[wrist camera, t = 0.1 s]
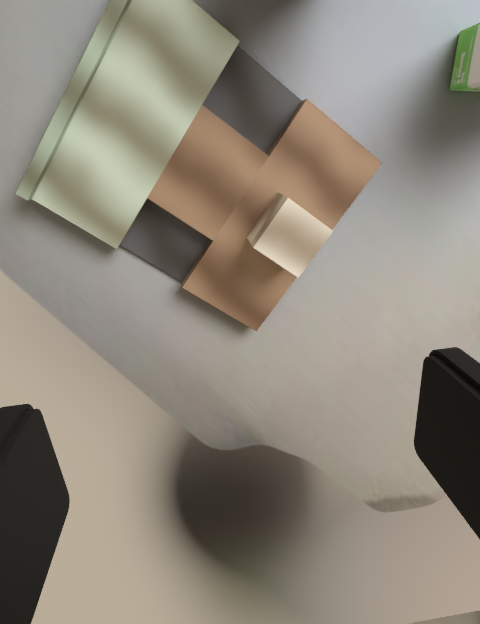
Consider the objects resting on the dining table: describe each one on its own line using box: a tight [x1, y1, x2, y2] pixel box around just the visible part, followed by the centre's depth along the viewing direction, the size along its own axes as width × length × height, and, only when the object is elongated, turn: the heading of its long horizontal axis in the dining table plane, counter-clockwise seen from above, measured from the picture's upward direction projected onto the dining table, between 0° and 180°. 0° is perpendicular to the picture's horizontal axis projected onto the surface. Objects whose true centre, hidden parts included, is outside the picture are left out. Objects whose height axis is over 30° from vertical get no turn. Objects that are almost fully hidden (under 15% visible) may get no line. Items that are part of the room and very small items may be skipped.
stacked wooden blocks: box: [16, 0, 382, 331], centre depth 35 cm, size 20×25×3 cm
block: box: [247, 192, 333, 277], centre depth 36 cm, size 5×5×4 cm
